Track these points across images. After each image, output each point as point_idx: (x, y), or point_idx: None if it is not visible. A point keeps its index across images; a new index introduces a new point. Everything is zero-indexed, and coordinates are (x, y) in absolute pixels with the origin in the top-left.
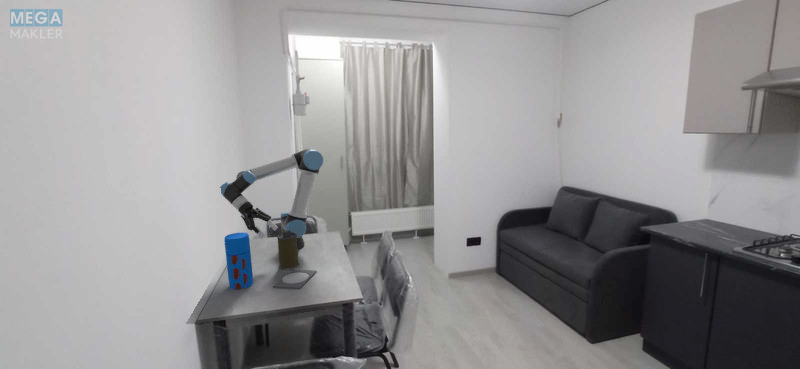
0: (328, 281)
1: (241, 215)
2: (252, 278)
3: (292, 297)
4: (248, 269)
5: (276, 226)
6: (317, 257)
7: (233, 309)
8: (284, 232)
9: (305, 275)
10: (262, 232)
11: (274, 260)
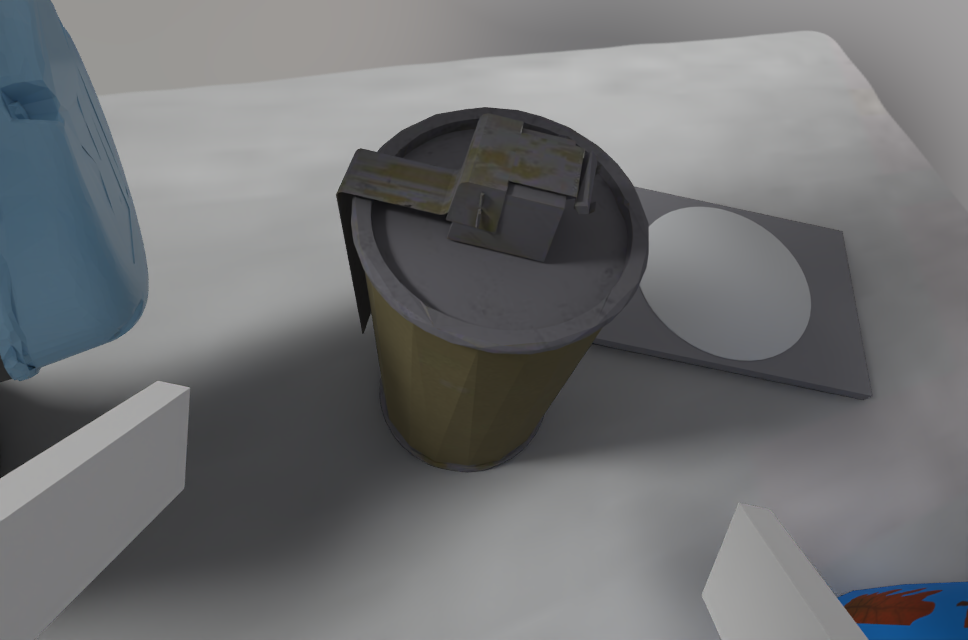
0: (713, 122)
1: None
2: (881, 588)
3: (933, 256)
4: None
5: (157, 402)
6: (309, 209)
7: None
8: (589, 178)
9: (681, 227)
10: (795, 559)
11: (303, 583)
